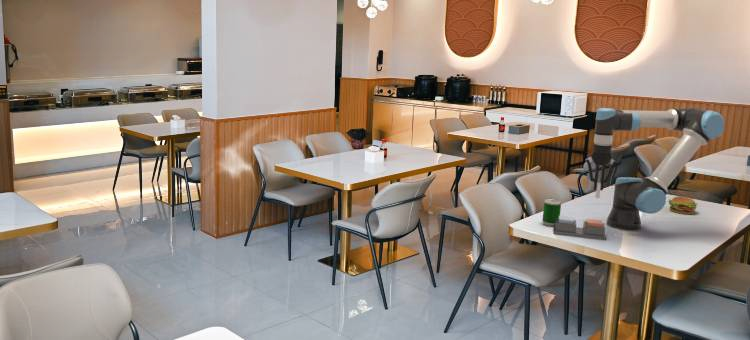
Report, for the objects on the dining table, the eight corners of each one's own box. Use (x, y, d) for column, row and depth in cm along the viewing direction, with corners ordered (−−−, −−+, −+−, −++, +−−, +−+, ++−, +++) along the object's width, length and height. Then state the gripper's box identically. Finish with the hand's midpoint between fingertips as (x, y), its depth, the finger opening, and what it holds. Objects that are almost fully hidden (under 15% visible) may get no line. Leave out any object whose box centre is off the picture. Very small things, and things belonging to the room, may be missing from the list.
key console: (604, 233, 298) (605, 222, 297) (605, 240, 287) (607, 229, 286) (553, 227, 303) (554, 217, 302) (553, 234, 293) (554, 223, 292)
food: (698, 211, 349) (700, 196, 348) (694, 216, 338) (696, 201, 336) (669, 206, 356) (671, 192, 355) (665, 211, 345) (667, 196, 343)
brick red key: (601, 226, 295) (601, 220, 295) (602, 230, 289) (602, 224, 289) (586, 225, 297) (586, 218, 296) (586, 229, 291) (587, 222, 290)
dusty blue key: (573, 223, 298) (573, 217, 298) (573, 227, 292) (574, 220, 292) (558, 222, 300) (558, 215, 299) (558, 225, 294) (559, 219, 293)
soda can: (559, 227, 304) (562, 202, 302) (542, 226, 305) (545, 200, 303) (558, 223, 311) (560, 198, 309) (541, 221, 313) (544, 197, 310)
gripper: (617, 143, 289) (612, 196, 294) (586, 141, 292) (581, 194, 297) (619, 146, 282) (613, 200, 287) (587, 144, 285) (582, 197, 290)
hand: (597, 197), depth 292 cm, fingers closed
